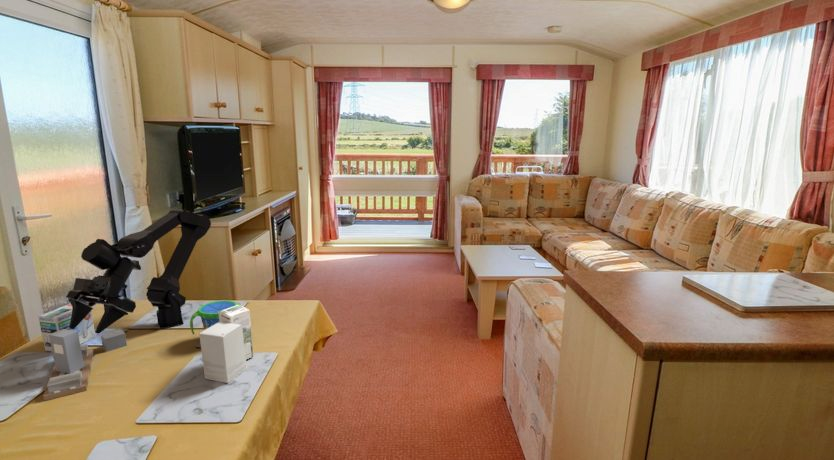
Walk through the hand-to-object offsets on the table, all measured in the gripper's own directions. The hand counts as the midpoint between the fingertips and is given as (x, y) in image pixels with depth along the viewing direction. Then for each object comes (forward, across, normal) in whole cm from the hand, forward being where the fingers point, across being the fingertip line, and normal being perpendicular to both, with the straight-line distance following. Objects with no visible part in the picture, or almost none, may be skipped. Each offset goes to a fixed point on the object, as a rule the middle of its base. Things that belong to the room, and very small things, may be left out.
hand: (83, 330), depth 117 cm
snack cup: (-9, +23, +23) cm, 34 cm away
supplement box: (+2, +38, +12) cm, 40 cm away
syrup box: (-2, +36, +17) cm, 40 cm away
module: (+9, 0, +2) cm, 10 cm away
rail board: (+10, 0, +3) cm, 11 cm away
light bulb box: (+2, -17, +12) cm, 21 cm away
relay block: (0, -3, +14) cm, 14 cm away
